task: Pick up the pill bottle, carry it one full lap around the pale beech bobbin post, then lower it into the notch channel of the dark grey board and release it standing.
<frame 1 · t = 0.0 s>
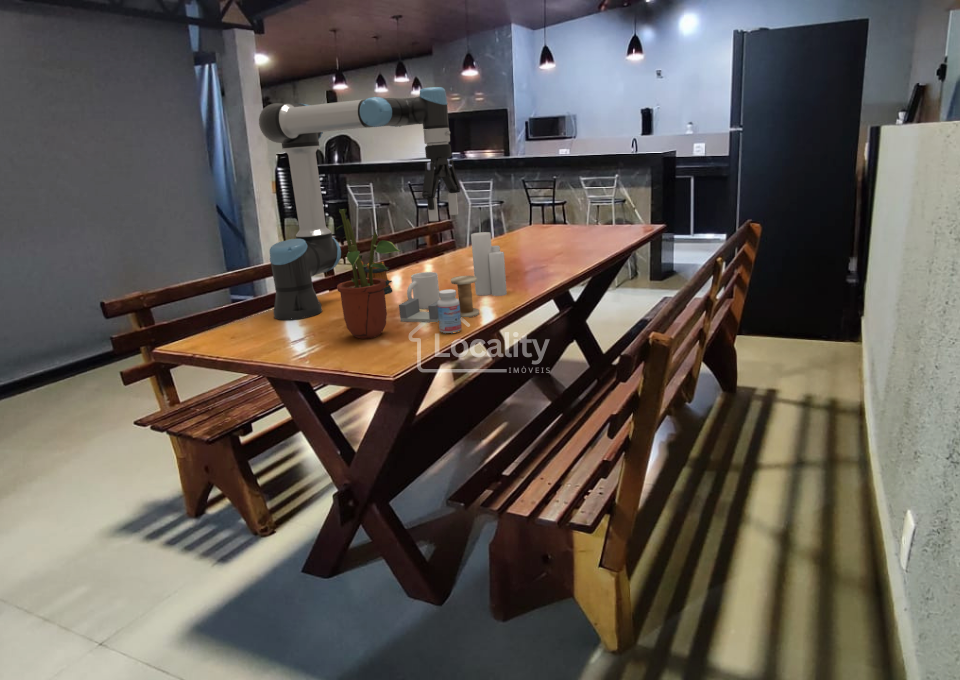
hand: (444, 217, 201), 28 cm above the table, fingers open, 13 cm apart
bobbin: (466, 314, 200), on the table
notch board: (424, 318, 200), on the table
vase: (492, 293, 225), on the table
pill bottle: (450, 331, 185), on the table
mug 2: (375, 293, 240), on the table
potted plant: (375, 334, 188), on the table
mug: (423, 308, 213), on the table
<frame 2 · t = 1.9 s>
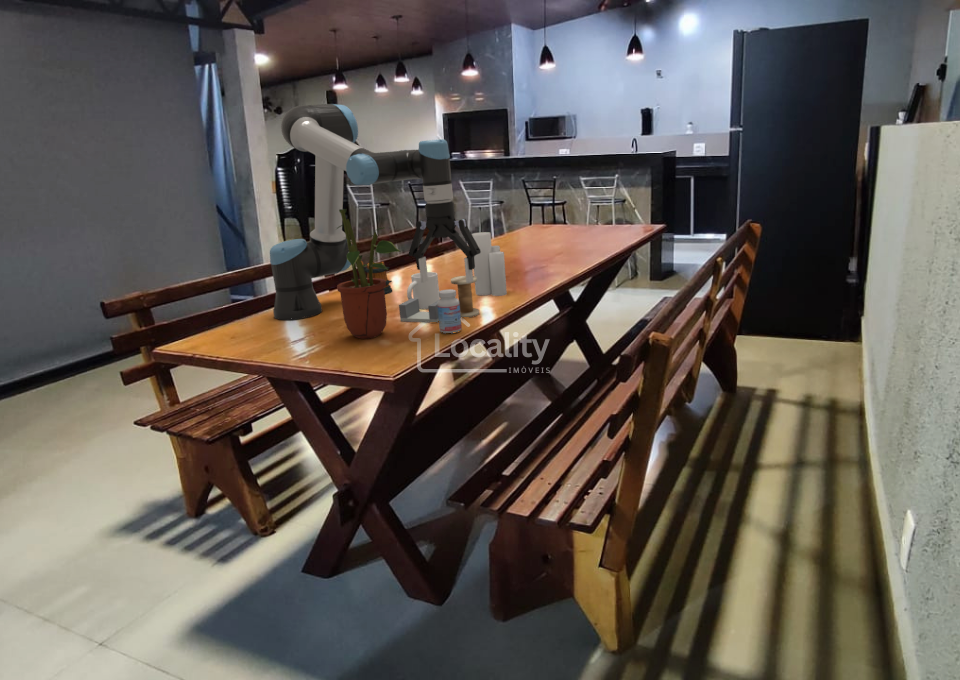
hand: (446, 281, 180), 14 cm above the table, fingers open, 13 cm apart
nothing on the table moved.
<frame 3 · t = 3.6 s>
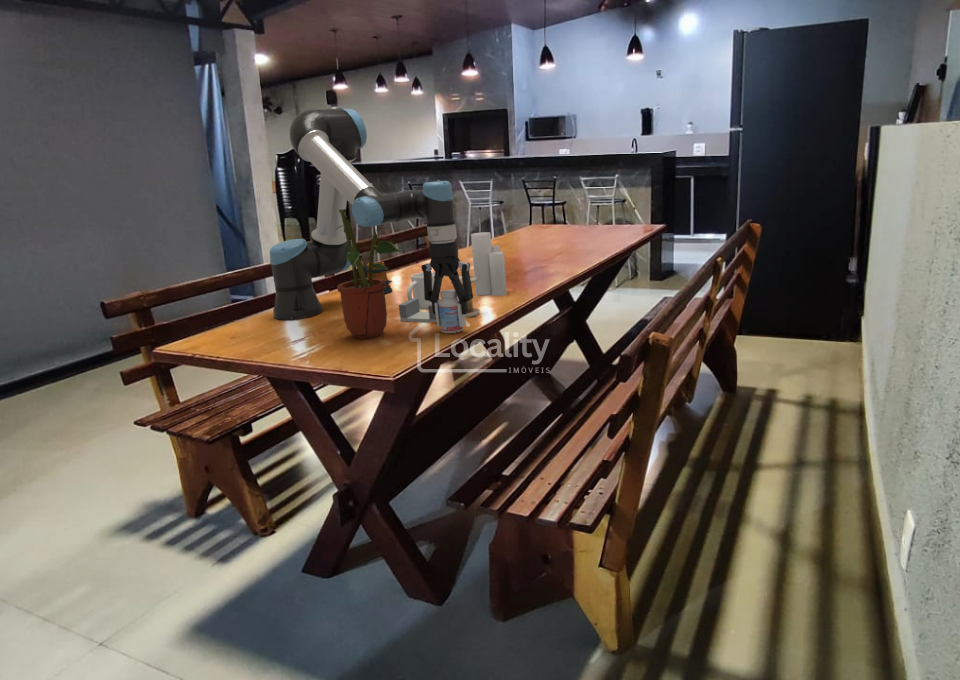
hand: (451, 325, 184), 2 cm above the table, fingers closed on pill bottle, 6 cm apart
pill bottle: (452, 331, 184), on the table, touching gripper
potted plant: (375, 334, 188), on the table, touching arm
everything else where it was.
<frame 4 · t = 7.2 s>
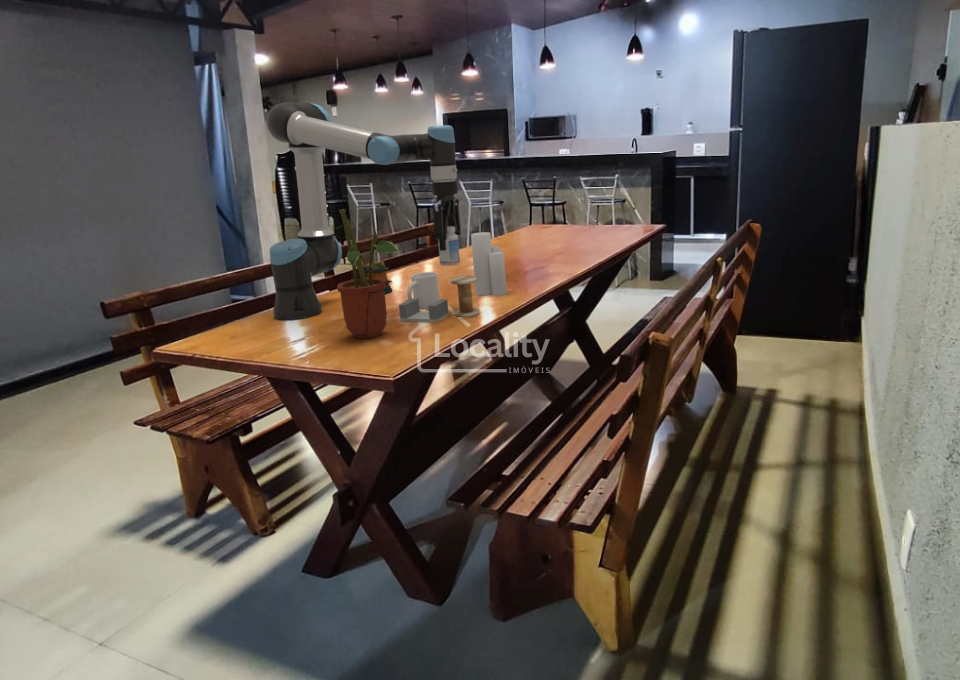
hand: (449, 258, 203), 16 cm above the table, fingers closed on pill bottle, 6 cm apart
pill bottle: (449, 265, 204), point 14 cm above the table, touching gripper
potted plant: (375, 334, 188), on the table
everything else where it was.
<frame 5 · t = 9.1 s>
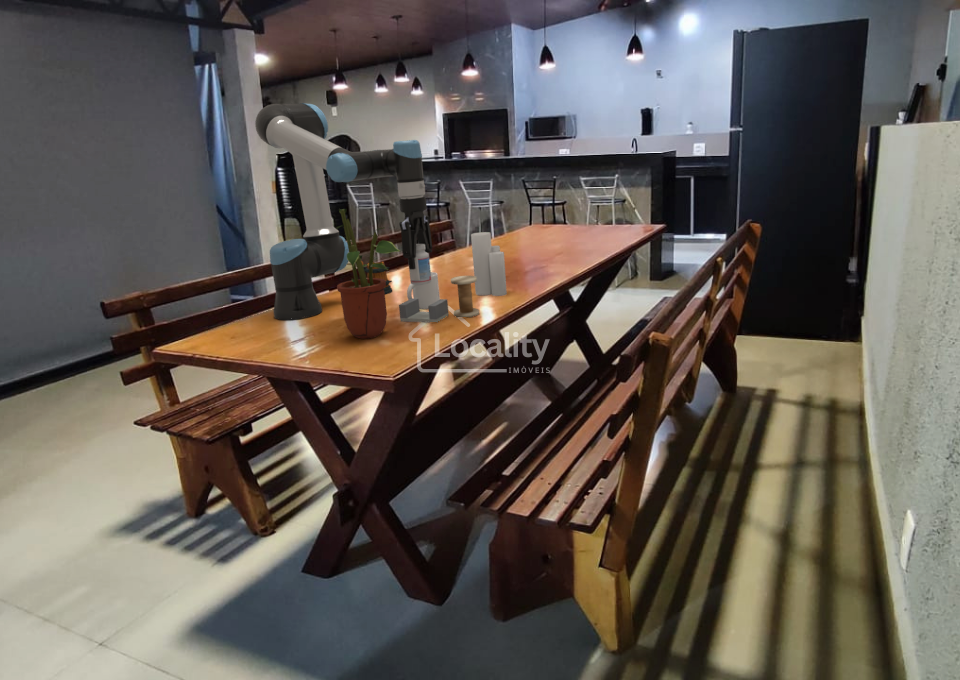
hand: (420, 277, 196), 12 cm above the table, fingers closed on pill bottle, 6 cm apart
pill bottle: (421, 283, 197), point 11 cm above the table, touching gripper
everything else where it was.
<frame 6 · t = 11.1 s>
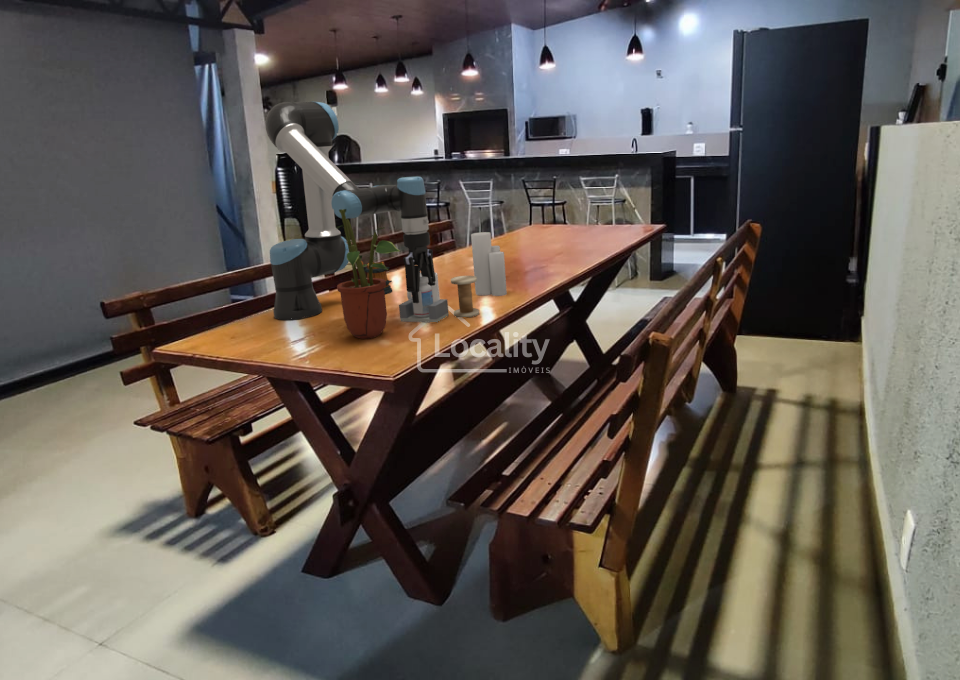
hand: (424, 310, 199), 3 cm above the table, fingers closed on pill bottle, 6 cm apart
pill bottle: (424, 315, 199), point 1 cm above the table, touching gripper, notch board
everything else where it was.
when the fingers open (3 cm above the table, at t = 11.1 s): pill bottle stays where it is, resting on notch board.
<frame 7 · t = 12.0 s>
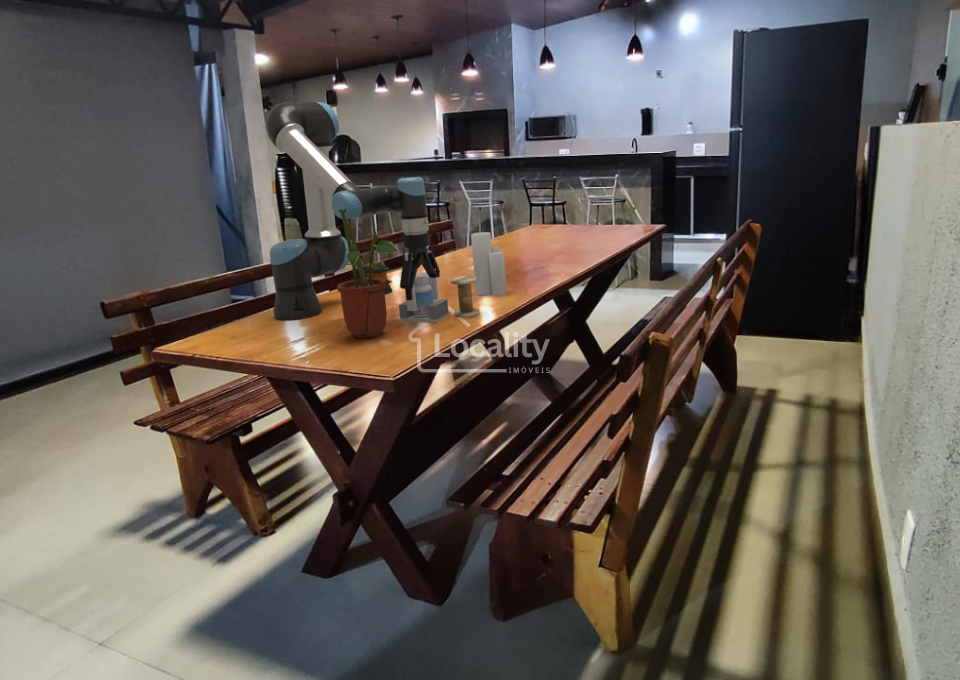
hand: (423, 304, 198), 4 cm above the table, fingers open, 13 cm apart
pill bottle: (424, 315, 199), point 1 cm above the table, touching notch board
everything else where it was.
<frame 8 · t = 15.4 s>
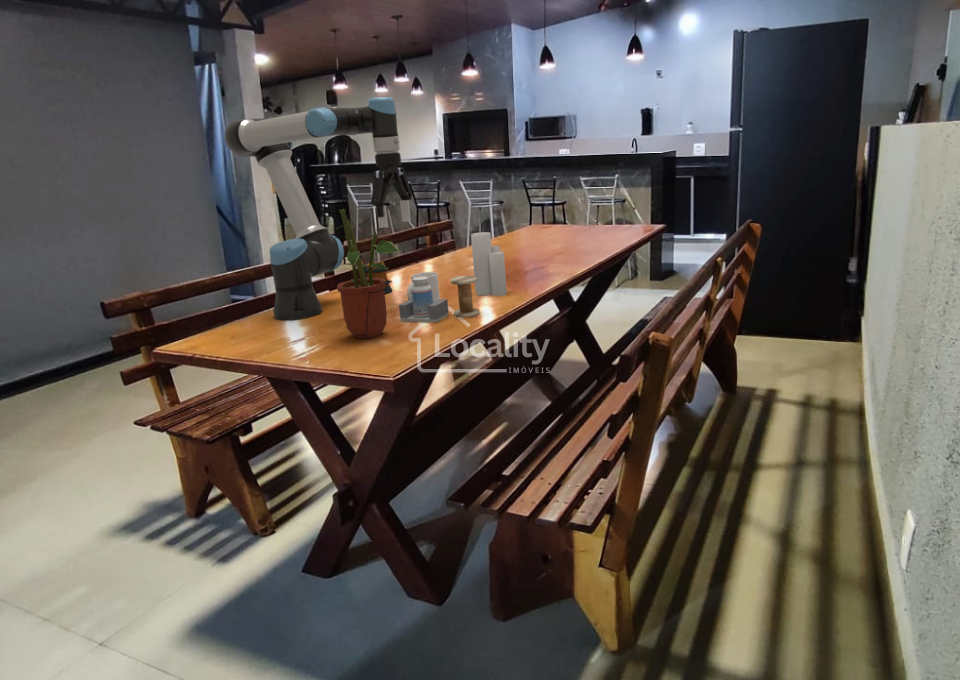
hand: (395, 224, 205), 27 cm above the table, fingers open, 13 cm apart
nothing on the table moved.
at the end: pill bottle inside the target area on the notch board (0.1 cm from its centre), point 0.8 cm above the notch board's base; pill bottle tilted 0°; the gripper is holding nothing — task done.
